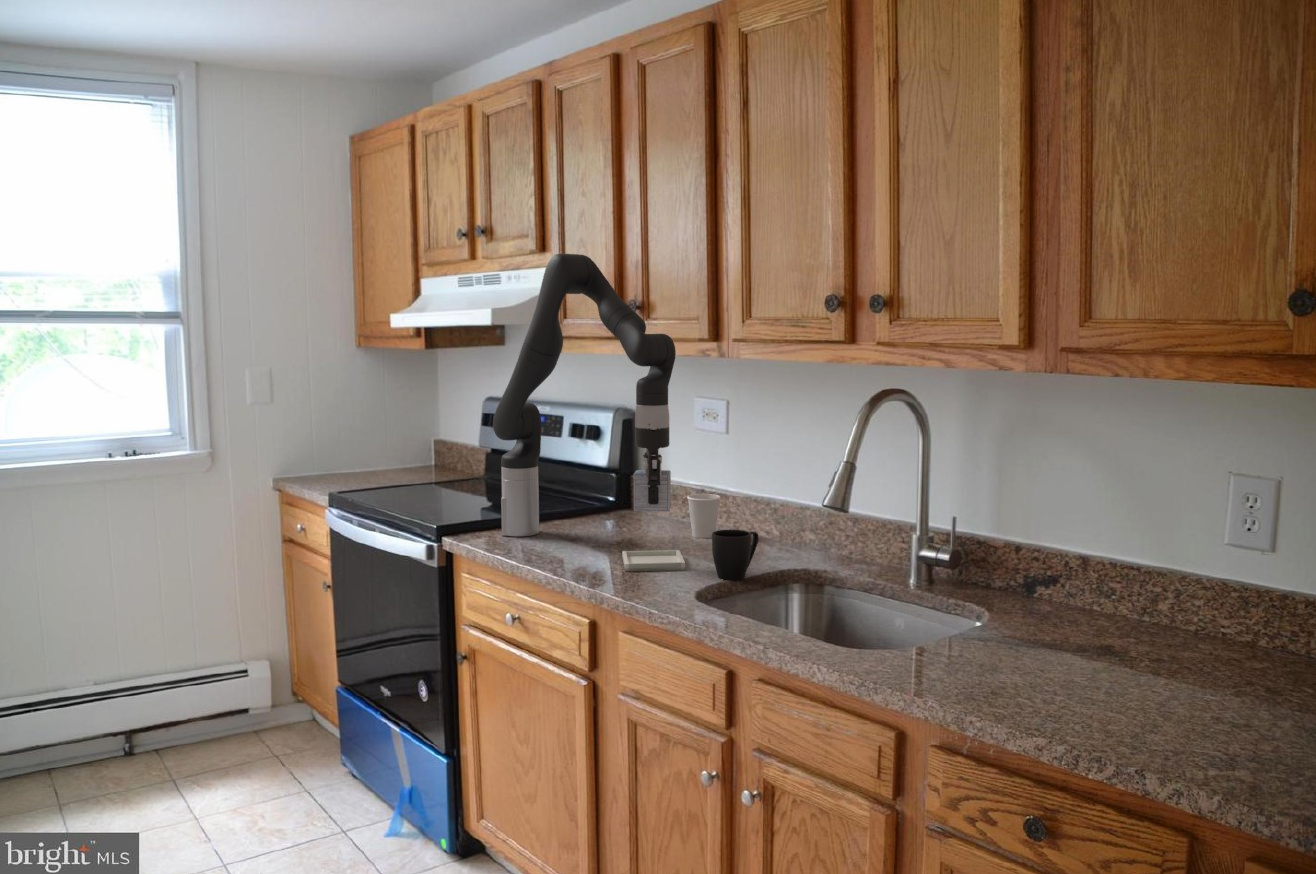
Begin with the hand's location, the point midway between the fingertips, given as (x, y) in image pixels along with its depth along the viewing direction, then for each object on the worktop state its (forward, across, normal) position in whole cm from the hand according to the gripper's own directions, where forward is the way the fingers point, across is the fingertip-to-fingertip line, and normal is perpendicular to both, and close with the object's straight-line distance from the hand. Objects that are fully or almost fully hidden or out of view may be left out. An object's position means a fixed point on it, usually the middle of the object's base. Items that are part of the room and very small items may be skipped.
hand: (652, 501), depth 234 cm
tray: (+14, 0, 0) cm, 14 cm away
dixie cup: (+14, -30, +15) cm, 36 cm away
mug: (+14, +13, +17) cm, 26 cm away
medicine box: (+2, 0, 0) cm, 2 cm away
